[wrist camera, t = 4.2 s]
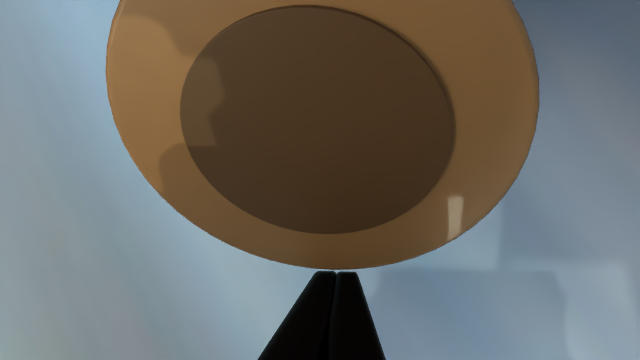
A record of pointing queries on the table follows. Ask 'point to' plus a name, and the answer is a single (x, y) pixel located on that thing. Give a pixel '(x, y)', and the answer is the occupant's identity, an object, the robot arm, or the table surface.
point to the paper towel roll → (325, 119)
